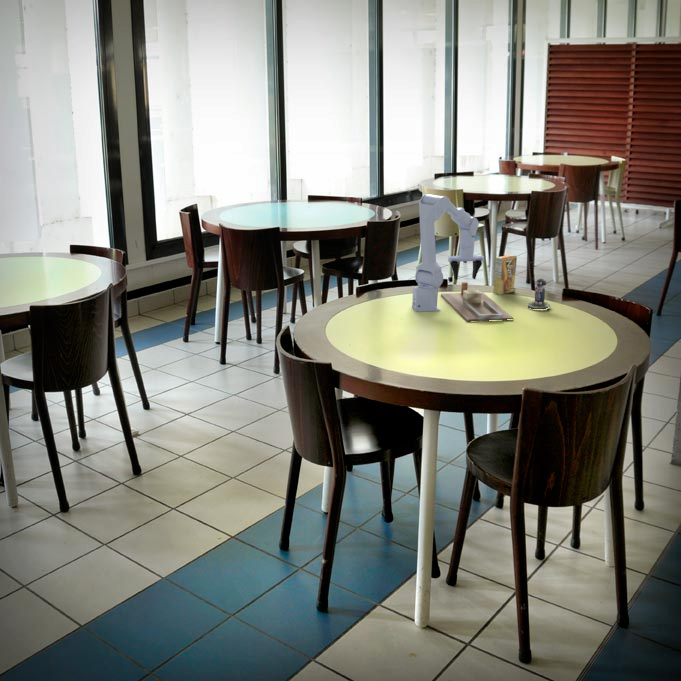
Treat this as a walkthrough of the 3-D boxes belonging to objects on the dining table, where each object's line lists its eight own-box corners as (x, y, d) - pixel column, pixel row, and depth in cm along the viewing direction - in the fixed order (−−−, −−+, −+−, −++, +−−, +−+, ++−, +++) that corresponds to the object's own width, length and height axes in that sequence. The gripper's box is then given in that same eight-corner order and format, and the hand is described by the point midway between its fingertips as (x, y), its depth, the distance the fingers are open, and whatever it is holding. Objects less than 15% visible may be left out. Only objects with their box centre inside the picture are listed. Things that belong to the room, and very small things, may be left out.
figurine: (526, 304, 337) (529, 275, 333) (548, 305, 336) (551, 276, 332) (528, 310, 329) (531, 280, 325) (551, 311, 328) (554, 281, 324)
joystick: (466, 303, 333) (467, 291, 331) (456, 294, 346) (456, 282, 344) (481, 303, 333) (481, 290, 332) (470, 293, 347) (471, 281, 345)
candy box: (506, 289, 358) (509, 254, 353) (514, 291, 355) (517, 256, 350) (492, 292, 353) (495, 257, 348) (500, 295, 350) (503, 258, 345)
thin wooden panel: (467, 322, 313) (467, 315, 312) (440, 296, 347) (441, 290, 346) (513, 320, 316) (513, 314, 315) (482, 294, 349) (483, 289, 349)
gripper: (481, 243, 344) (478, 276, 348) (446, 244, 342) (444, 276, 346) (486, 247, 337) (484, 280, 341) (451, 247, 335) (449, 281, 339)
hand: (464, 278), depth 343 cm, fingers open, 7 cm apart
